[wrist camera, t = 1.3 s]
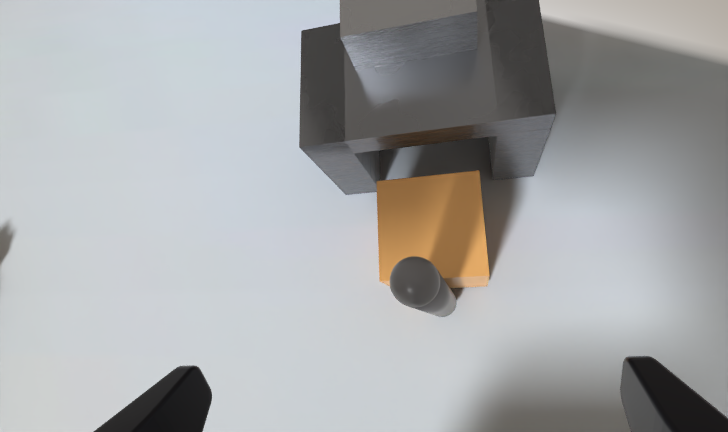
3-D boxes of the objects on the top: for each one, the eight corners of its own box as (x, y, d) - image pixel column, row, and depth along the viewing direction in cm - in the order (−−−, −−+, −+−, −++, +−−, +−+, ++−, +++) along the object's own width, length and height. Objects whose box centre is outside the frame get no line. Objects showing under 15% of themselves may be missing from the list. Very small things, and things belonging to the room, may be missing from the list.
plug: (490, 315, 21) (501, 302, 11) (399, 318, 22) (331, 308, 12) (477, 189, 22) (477, 74, 12) (394, 197, 23) (330, 97, 13)
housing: (533, 175, 22) (567, 80, 14) (345, 194, 24) (276, 123, 16) (520, 77, 24) (544, -63, 15) (344, 104, 26) (280, -5, 17)
